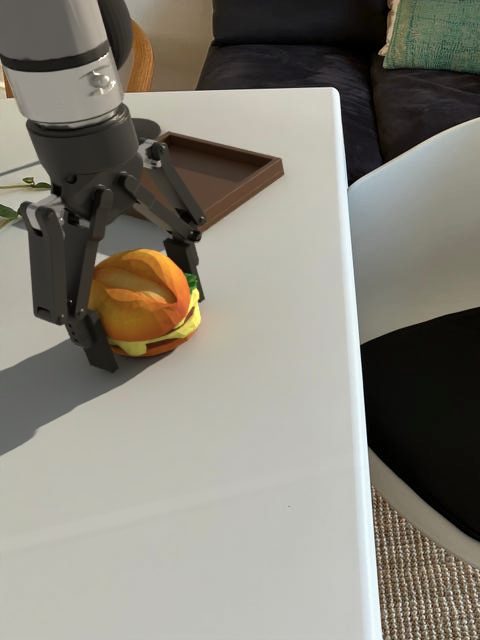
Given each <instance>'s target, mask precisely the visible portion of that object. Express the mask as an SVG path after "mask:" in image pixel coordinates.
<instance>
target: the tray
mask: <svg viewBox="0 0 480 640" xmlns="http://www.w3.org/2000/svg"><path fill="white" fill-rule="evenodd" d="M153 140H154V141H158V142H162V143H165V144H166V145H167V146H168V149H169V153H170V157H171V161H172V165H173V166H174V168H175V169H176V171H177V172H178V174H179V175H180V177H181V178H182V180H183V182H184V183H185V185H186V186H187V188H188V189H189V191H190V192H191V194H192V196H193V197H194V199H195V200H196V202H197V203H198V205H199V206H200V208H201V209H202V211H203V213H204V214H205V216H206V223H205V225H204V226H198V227H197V229H196V230H197V231H200V232H201V234H203V233H205V232H206V231H207V230H209V229H210V228H211V227H213V226H214V225H216V224H218V223H219V221H221V220H223V219H224V218H225V217H227V216H229V215H230V214H231V213H232V212H234V211H235V210H237V209H238V208H240V207H241V206H243V205H244V204H246V203H247V202H248V201H250V200H251V199H252V198H253V197H255V196H256V195H258V194H259V193H261V192H262V191H263V190H264V189H266V188H268V187H269V186H270V185H272V184H274V183H275V182H276V181H278V180H279V179H280V178H282V177H283V176H285V169H284V164H283V163H284V162H283V158H282V157H278V156H273V155H270V154H265V153H263V152H258V151H253V150H249V149H245V148H241V147H236V146H232V145H228V144H223V143H220V142H216V141H211V140H206V139H204V138H200V137H199V138H198V137H194V136H190V135H187V134H183V133H182V134H181V133H178V132H173V131H169V130H168V131H166V132H164V133H163V134H160V135H159V137H157V138H155V139H153ZM140 183H141V184H142V185H143V186H144V187H145V188H146V189H148V190H149V191H150V192H151V193H153V194H154V195H155V196H156V199H157V200H158V201H160V202H161V203H162V204H163V205H164V206H166V207H167V208H168V209H169V210H171V211H172V212H173V213H174V211H173V210H172V208H171V207H170V205H169V204H168V202H167V201H166V200H165V198H164V197H163V195H162V194H161V192H160V191H159V189H158V188H157V187H156V185H155V184H154V182H153V181H152V179H151V178H150V176H149V175H148V174H147V172H146V170H145V169H144V167H143V170H142V175H141V180H140ZM174 214H175V213H174ZM125 215H127V216H131V217H134V218H138V219H141V220H145V221H148V222H152V221H150V220H149V219H148V218H146V217H145V216H144V215H142V214H141V213H140V212H138V211H137V210H136V209H135V208H133V210H131V211H130V212H128V213H126V214H125ZM175 215H176V214H175ZM152 223H153V222H152Z"/></svg>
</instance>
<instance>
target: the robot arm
mask: <svg viewBox="0 0 480 640" xmlns="http://www.w3.org/2000/svg"><path fill="white" fill-rule="evenodd" d="M0 63H1V65H2V68H3V71H4V73H5V77H6V79H7V81H8V84H9V87H10V90H11V93H12V95H13V98H14V101H15V104H16V106H17V108H18V112H19V113H20V114H21V116H23V117H24V118H26V122H25V128H26V130H27V133H28V136H29V138H30V141H31V143H32V146H33V149H34V151H35V154H36V157H37V159H38V161H39V164H40V165H41V166H42V168H43V169H44V171H45V172H46V174H47V175H48V177H49V180H50V195H48V196H46V197H44V198H42V199H41V200H39V201H37V202H33V201H29V200H24V201H22V202H21V203H20V204H19V207H18V210H19V214H20V217H21V218H22V221H23V223H24V225H25V228H26V231H27V238H28V240H27V241H28V255H29V266H30V268H29V269H30V282H31V283H30V285H31V296H32V311H33V316H34V317H35V318H37V319H40V320H42V321H45V322H48V323H49V324H53V325H56V326H59V327H60V326H64V327H65V329H66V332H67V334H68V336H69V338H70V342H71V343H73V344H74V345H75V346H78V347H81V348H82V350H83V351H84V354H85V356H86V358H87V361H88V363H89V366H92V367H95V368H98V369H100V370H102V371H105V372H108V373H110V374H114V373H115V372H116V371H118V370H119V369H120V368H119V366H118V362H117V360H116V357H115V355H114V352H113V351H112V350H111V347H110V344H109V342H108V339H107V337H106V334H105V332H104V329H103V326H102V324H101V321H100V319H99V316H98V314H97V311H94V310H91V309H88V303H89V297H90V291H91V285H92V279H93V273H94V267H95V266H96V261H97V255H98V248H99V243H100V242H101V241H103V240H104V239H105V236H106V235H105V234H106V229H107V226H109V225H111V224H112V223H114V222H115V221H116V220H117V219H118V217H120V216H122V215H127V214H126V213H128V212H130V211H131V210H133V208H135V209H136V210H137V211H138V212H140V213H141V214H142V215H144V216H145V217H146V218H148V219H149V220H150V221H149V222H151V221H152V224H154V225H156V226H157V227H158V228H160V229H161V230H162V231H163V232H165V233H166V234H167V235H169V236H171V237H166V238H165V239H164V240H162V244H163V247H164V251H165V254H166V256H167V257H168V258H170V259H171V260H172V261H173V262H174V263H175V264H176V265H177V266H178V267H179V268H180V269H181V270H182V272H183V273H186V274H191V275H194V276H196V277H197V278H196V279H195V280H197V282H196V284H197V290H198V292H199V300H198V304H201V303H202V302H203V301H204V300H206V297H205V293H204V290H203V285H202V282H201V279H200V276H199V275H200V274H199V271H198V266H199V265H200V258H199V255H198V251H197V247H196V244H198V243H200V242H201V240H202V238H203V233H201V232H200V231H197V230H196V229H197V227H198V226H204V225H205V223H206V216H205V214H204V213H203V211H202V209H201V208H200V206H199V205H198V203H197V202H196V200H195V199H194V197H193V196H192V194H191V192H190V191H189V189H188V188H187V186H186V185H185V183H184V182H183V180H182V178H181V177H180V175H179V174H178V172H177V171H176V169H175V168H174V166H173V165H172V161H171V157H170V153H169V149H168V146H167V145H166V144H165V143H162V142H158V141H154V140H150V139H146V138H140V139H137V135H136V132H135V128H134V125H133V121H132V118H133V117H132V115H131V112H130V109H129V108H130V107H128V105H127V104H126V103H124V102H123V101H124V99H125V92H124V89H123V85H122V82H121V78H120V75H119V71H117V68H116V64H115V61H114V57H113V54H112V51H111V47H110V44H109V41H108V38H107V34H106V31H105V27H104V24H103V20H102V17H101V13H100V9H99V6H98V2H97V0H0ZM143 167H144V169H145V170H146V172H147V174H148V175H149V176H150V178H151V179H152V181H153V182H154V184H155V185H156V187H157V188H158V189H159V191H160V192H161V194H162V195H163V197H164V198H165V200H166V201H167V202H168V204H169V205H170V207H171V208H172V210H173V211H174V213H175V214H176V215H175V214H174V213H173V212H172V211H171V210H169V209H168V208H167V207H166V206H164V205H163V204H162V203H161V202H160V201H158V200H157V199H156V196H155V195H154V194H153V193H151V192H150V191H149V190H148V189H146V188H145V187H144V186H143V185H142V184H141V183H140V180H141V175H142V170H143ZM62 211H63V215H62ZM61 215H62V216H61ZM80 221H82V222H84V223H88V224H89V225H88V226H85V225H82V224H81V223H80Z"/></svg>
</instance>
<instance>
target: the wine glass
mask: <svg viewBox="0 0 480 640" xmlns="http://www.w3.org/2000/svg"><path fill="white" fill-rule="evenodd" d="M97 2H98V6H99V9H100V13H101V17H102V20H103V24H104V27H105V31H106V34H107V38H108V41H109V44H110V47H111V51H112V54H113V57H114V61H115V64H116V68H117V71H118V72H119V71H120V70H121V68H123V66H124V65H125V63H126V62H127V60H128V59H129V56H130V54H131V52H132V50H133V49H132V48H133V44H134V27H133V21H132V17H131V14H130V11H129V7H128V5H127V4H126V1H125V0H97ZM131 118H132V121H133V125H134V128H135V132H136V135H137V139H140V138H146V139H150V140H153V139H155V138H157V137H159V136H161V133H162V129H161V126H160V124H159V123H158V122H156V121H155V120H152V119H149V118H143V117H131Z"/></svg>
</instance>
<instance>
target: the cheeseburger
mask: <svg viewBox="0 0 480 640" xmlns="http://www.w3.org/2000/svg"><path fill="white" fill-rule="evenodd" d="M196 278H197V277H196V276H194V275H191V274H186V273H183V272H182V270H181V269H180V268H179V267H178V266H177V265H176V264H175V263H174V262H173V261H172V260H171V259H170V258H168V257H167V255H165V254H163V253H161V252H159V251H158V250H153V249H147V248H143V247H140V248H133V249H127V250H124V251H120V252H118V253H115V254H111V255H110V256H108V257H106V258H105V259H103V260H101V261H99V262H98V263H97V264H95V267H94V273H93V279H92V285H91V291H90V297H89V303H88V309H91V310H94V311H97V314H98V316H99V319H100V321H101V324H102V326H103V329H104V332H105V334H106V337H107V339H108V342H109V344H110V347H111V350H112V352H113V353H115V354H116V355H121V356H127V357H131V358H136V357H137V358H139V357H153V356H156V355H159V354H163V353H166V352H170V351H173V350H174V349H176V348H178V347H179V346H181V345H182V344H184V343H186V342H188V341H189V340H190V339H191V338H192V337H193V335H194V334H195V333H196V332H197V331H198V327H199V325H200V323H201V321H202V317H201V313H200V312H201V311H200V307H199V302H198V300H199V292H198V290H197V284H196V282H197V280H195V279H196Z"/></svg>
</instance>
